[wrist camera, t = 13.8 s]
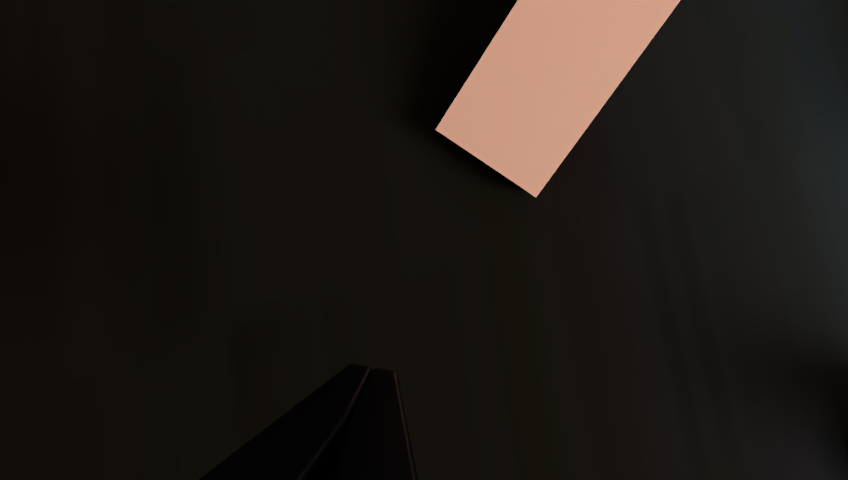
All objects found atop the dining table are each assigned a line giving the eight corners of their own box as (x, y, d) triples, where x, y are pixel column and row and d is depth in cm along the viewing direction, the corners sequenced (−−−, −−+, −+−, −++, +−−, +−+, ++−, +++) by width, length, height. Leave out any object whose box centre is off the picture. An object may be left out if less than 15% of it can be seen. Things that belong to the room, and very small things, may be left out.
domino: (536, 197, 18) (704, -33, 16) (435, 129, 18) (592, -119, 15) (529, 192, 20) (681, -19, 17) (436, 129, 19) (579, -95, 17)
